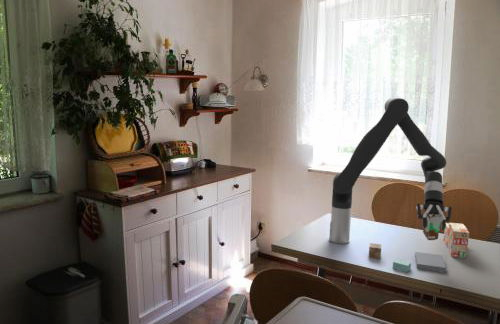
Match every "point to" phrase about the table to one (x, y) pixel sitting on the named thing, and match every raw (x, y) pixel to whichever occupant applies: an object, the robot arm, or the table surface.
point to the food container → (432, 226)
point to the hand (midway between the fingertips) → (433, 228)
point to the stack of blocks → (456, 239)
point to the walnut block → (375, 251)
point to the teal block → (401, 265)
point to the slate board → (430, 262)
